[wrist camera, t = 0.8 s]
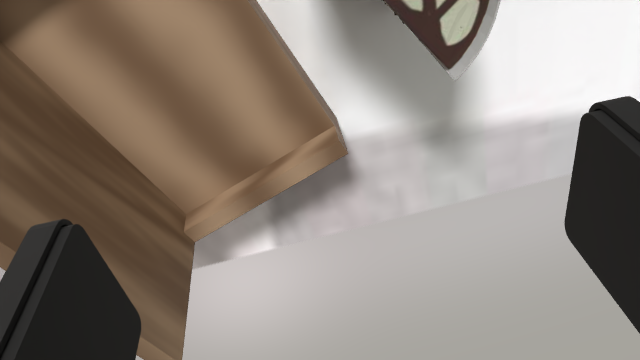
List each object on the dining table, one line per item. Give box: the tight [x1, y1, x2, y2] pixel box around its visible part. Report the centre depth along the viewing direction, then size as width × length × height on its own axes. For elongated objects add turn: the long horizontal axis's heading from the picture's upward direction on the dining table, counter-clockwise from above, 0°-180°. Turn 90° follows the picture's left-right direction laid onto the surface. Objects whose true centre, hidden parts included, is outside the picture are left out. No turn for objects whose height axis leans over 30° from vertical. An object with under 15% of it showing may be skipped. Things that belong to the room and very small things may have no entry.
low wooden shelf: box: [0, 0, 348, 360], centre depth 27 cm, size 14×20×15 cm
